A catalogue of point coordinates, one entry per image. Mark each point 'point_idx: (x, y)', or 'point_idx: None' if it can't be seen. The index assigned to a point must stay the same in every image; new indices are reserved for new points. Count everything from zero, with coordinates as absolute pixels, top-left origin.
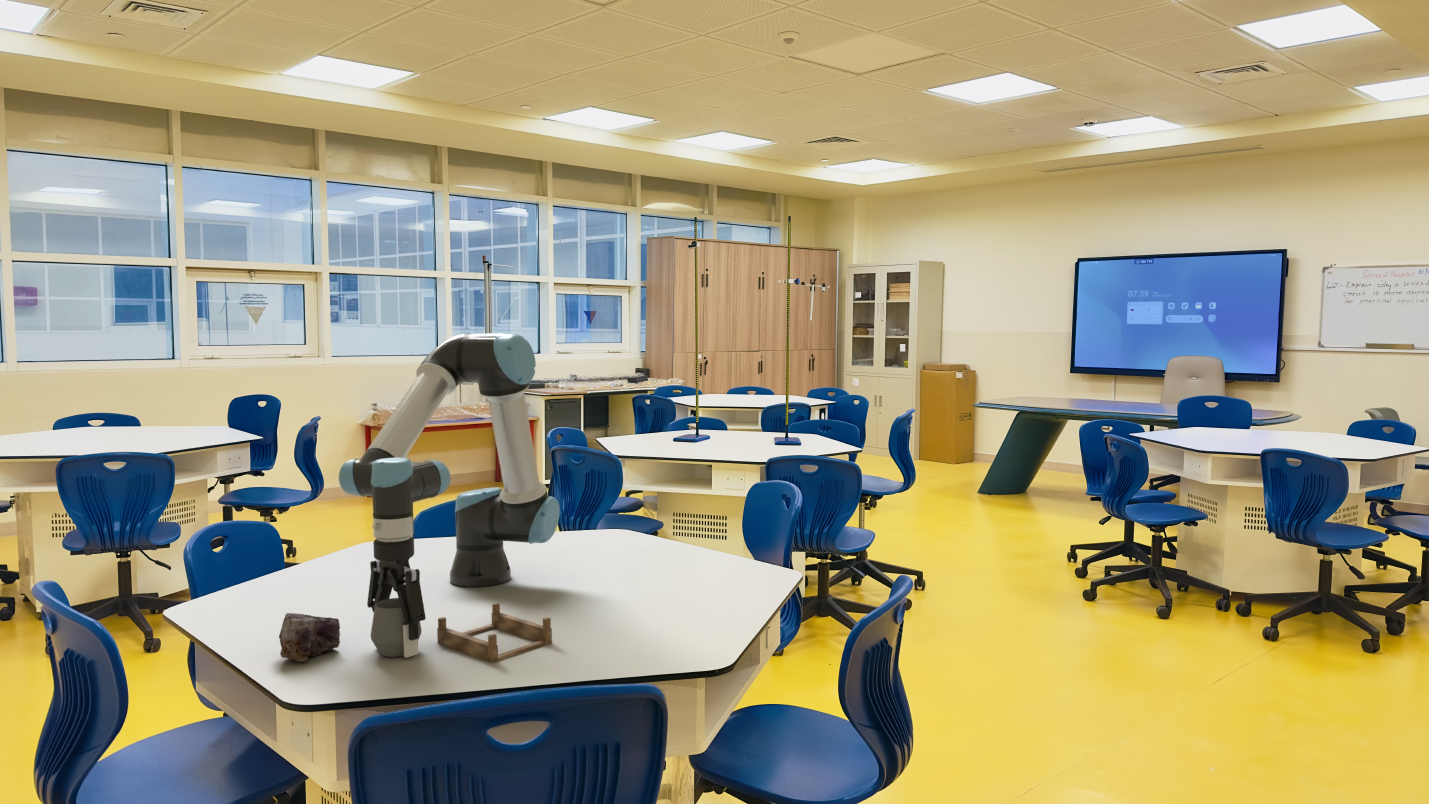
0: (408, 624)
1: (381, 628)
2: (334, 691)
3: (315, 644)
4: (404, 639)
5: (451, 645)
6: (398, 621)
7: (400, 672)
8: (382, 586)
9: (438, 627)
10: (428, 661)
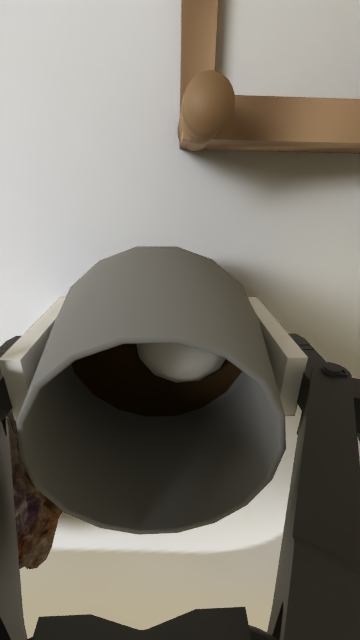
0: (297, 399)
1: (193, 448)
2: (272, 505)
3: (13, 490)
4: None
5: (282, 150)
6: (253, 429)
7: None
8: (25, 634)
9: (199, 141)
10: (312, 295)
